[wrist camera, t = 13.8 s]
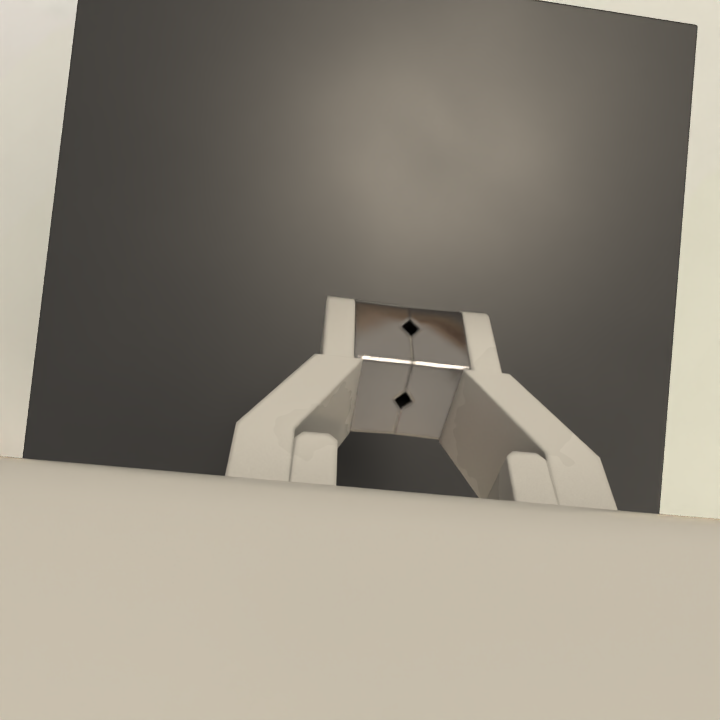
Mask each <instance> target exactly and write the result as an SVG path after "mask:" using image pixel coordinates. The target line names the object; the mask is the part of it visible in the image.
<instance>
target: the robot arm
mask: <svg viewBox="0 0 720 720" xmlns="http://www.w3.org/2000/svg"><path fill="white" fill-rule="evenodd" d="M350 431H354V432H369V433H383V434H396V435H404V436H413V437H421V438H429V439H437V440H439V443H440V444H441V445H442V447H443V448H444V450H445V451H446V452H447V454H448V455H449V457H450V458H451V459H452V461H453V462H454V464H455V465H456V466H457V468H458V469H459V471H460V472H461V473H462V475H463V476H464V478H465V479H466V481H467V482H468V483H469V485H470V486H471V488H472V489H473V490H474V492H475V493H476V495H477V496H478V497H479V498H474V497H462V496H450V495H439V494H427V493H416V492H404V491H393V490H381V489H370V488H358V487H346V486H336V476H337V449H338V447H339V446H340V445H341V443H342V442H343V441H344V440H345V438H346V437H347V436H348V435H349V432H350ZM0 720H720V519H714V518H702V517H690V516H678V515H666V514H654V513H642V512H631V511H620V510H617V507H616V504H615V501H614V498H613V495H612V492H611V489H610V486H609V483H608V480H607V477H606V474H605V471H604V468H603V465H602V463H601V460H600V457H599V456H597V455H596V454H595V453H594V452H593V451H592V450H591V449H590V448H589V447H588V446H587V445H586V444H584V443H583V442H582V441H581V440H580V439H579V438H578V437H577V436H576V435H575V434H574V433H573V432H572V431H570V430H569V429H568V428H567V427H566V426H565V425H564V424H563V423H562V422H561V421H560V420H559V419H558V418H556V417H555V416H554V415H553V414H552V413H551V412H550V411H549V410H548V409H547V408H546V407H545V406H544V405H542V404H541V403H540V402H539V401H538V400H537V399H536V398H535V397H534V396H533V395H532V394H531V393H529V392H528V391H527V390H526V389H525V388H524V387H523V386H522V385H521V384H520V383H519V382H518V381H517V380H515V379H514V378H513V377H512V376H511V375H510V374H505V373H502V371H501V366H500V362H499V358H498V353H497V349H496V345H495V341H494V336H493V332H492V328H491V323H490V319H489V316H488V315H487V314H485V313H474V312H462V311H460V312H453V311H444V310H435V309H425V308H416V307H408V306H403V305H395V304H388V303H380V302H373V301H366V300H358V299H355V301H354V299H349V298H341V297H333V296H328V297H327V301H326V309H325V317H324V324H323V332H322V340H321V348H320V354H314V355H313V356H311V357H310V358H309V359H308V360H307V361H306V362H305V363H303V364H302V365H301V366H300V367H299V368H298V369H297V370H296V371H294V372H293V373H292V374H291V375H290V376H289V377H288V378H286V379H285V380H284V381H283V382H282V383H281V384H280V385H278V386H277V387H276V388H275V389H274V390H273V391H272V392H270V393H269V394H268V395H267V396H266V397H265V398H264V399H262V400H261V401H260V402H259V403H258V404H257V405H256V406H254V407H253V408H252V409H251V410H250V411H249V412H248V413H246V414H245V415H244V416H243V417H242V418H241V419H240V420H238V421H237V422H236V426H235V430H234V435H233V440H232V445H231V449H230V454H229V459H228V464H227V468H226V473H225V476H220V475H209V474H197V473H186V472H174V471H163V470H151V469H140V468H128V467H117V466H105V465H94V464H82V463H71V462H59V461H48V460H37V459H25V458H14V457H3V456H0Z"/></svg>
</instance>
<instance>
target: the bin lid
mask: <svg viewBox="0 0 720 720" xmlns="http://www.w3.org/2000/svg"><path fill="white" fill-rule="evenodd" d="M696 40H697V25H693V24H687V23H681V22H674V21H668V20H661V19H655V18H649V17H642V16H636V15H630V14H623V13H617V12H610V11H604V10H598V9H591V8H585V7H578V6H572V5H566V4H559V3H553V2H547V1H540V0H78V4H77V12H76V21H75V29H74V37H73V45H72V54H71V62H70V70H69V79H68V87H67V95H66V103H65V112H64V120H63V128H62V136H61V145H60V153H59V161H58V170H57V178H56V186H55V194H54V203H53V211H52V219H51V227H50V236H49V244H48V252H47V261H46V269H45V277H44V285H43V294H42V302H41V310H40V318H39V327H38V335H37V343H36V352H35V360H34V368H33V376H32V385H31V393H30V401H29V409H28V418H27V426H26V434H25V443H24V451H23V458H25V459H37V460H48V461H59V462H71V463H82V464H94V465H105V466H117V467H128V468H140V469H151V470H163V471H174V472H186V473H197V474H209V475H220V476H225V473H226V468H227V464H228V459H229V454H230V449H231V445H232V440H233V435H234V430H235V426H236V422H237V421H238V420H240V419H241V418H242V417H243V416H244V415H245V414H246V413H248V412H249V411H250V410H251V409H252V408H253V407H254V406H256V405H257V404H258V403H259V402H260V401H261V400H262V399H264V398H265V397H266V396H267V395H268V394H269V393H270V392H272V391H273V390H274V389H275V388H276V387H277V386H278V385H280V384H281V383H282V382H283V381H284V380H285V379H286V378H288V377H289V376H290V375H291V374H292V373H293V372H294V371H296V370H297V369H298V368H299V367H300V366H301V365H302V364H303V363H305V362H306V361H307V360H308V359H309V358H310V357H311V356H313V355H314V354H320V348H321V340H322V332H323V324H324V317H325V309H326V301H327V297H328V296H333V297H341V298H349V299H354V301H355V299H358V300H366V301H373V302H380V303H388V304H395V305H403V306H408V307H416V308H425V309H435V310H444V311H453V312H460V311H462V312H474V313H485V314H487V315H488V316H489V319H490V323H491V328H492V332H493V336H494V341H495V345H496V349H497V353H498V358H499V362H500V366H501V371H502V373H505V374H510V375H511V376H512V377H513V378H514V379H515V380H517V381H518V382H519V383H520V384H521V385H522V386H523V387H524V388H525V389H526V390H527V391H528V392H529V393H531V394H532V395H533V396H534V397H535V398H536V399H537V400H538V401H539V402H540V403H541V404H542V405H544V406H545V407H546V408H547V409H548V410H549V411H550V412H551V413H552V414H553V415H554V416H555V417H556V418H558V419H559V420H560V421H561V422H562V423H563V424H564V425H565V426H566V427H567V428H568V429H569V430H570V431H572V432H573V433H574V434H575V435H576V436H577V437H578V438H579V439H580V440H581V441H582V442H583V443H584V444H586V445H587V446H588V447H589V448H590V449H591V450H592V451H593V452H594V453H595V454H596V455H597V456H599V457H600V460H601V463H602V465H603V468H604V471H605V474H606V477H607V480H608V483H609V486H610V489H611V492H612V495H613V498H614V501H615V504H616V507H617V510H620V511H631V512H642V513H654V514H659V511H660V498H661V485H662V472H663V460H664V447H665V434H666V421H667V409H668V396H669V383H670V371H671V358H672V345H673V332H674V320H675V307H676V294H677V282H678V269H679V256H680V243H681V231H682V218H683V205H684V193H685V180H686V167H687V154H688V142H689V129H690V116H691V104H692V91H693V78H694V65H695V53H696ZM336 486H346V487H358V488H370V489H381V490H393V491H404V492H416V493H427V494H439V495H450V496H462V497H474V498H479V497H478V496H477V495H476V493H475V492H474V490H473V489H472V488H471V486H470V485H469V483H468V482H467V481H466V479H465V478H464V476H463V475H462V473H461V472H460V471H459V469H458V468H457V466H456V465H455V464H454V462H453V461H452V459H451V458H450V457H449V455H448V454H447V452H446V451H445V450H444V448H443V447H442V445H441V444H440V443H439V440H437V439H429V438H421V437H413V436H404V435H396V434H383V433H369V432H354V431H350V432H349V435H348V436H347V437H346V438H345V440H344V441H343V442H342V443H341V445H340V446H339V447H338V449H337V476H336Z"/></svg>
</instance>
